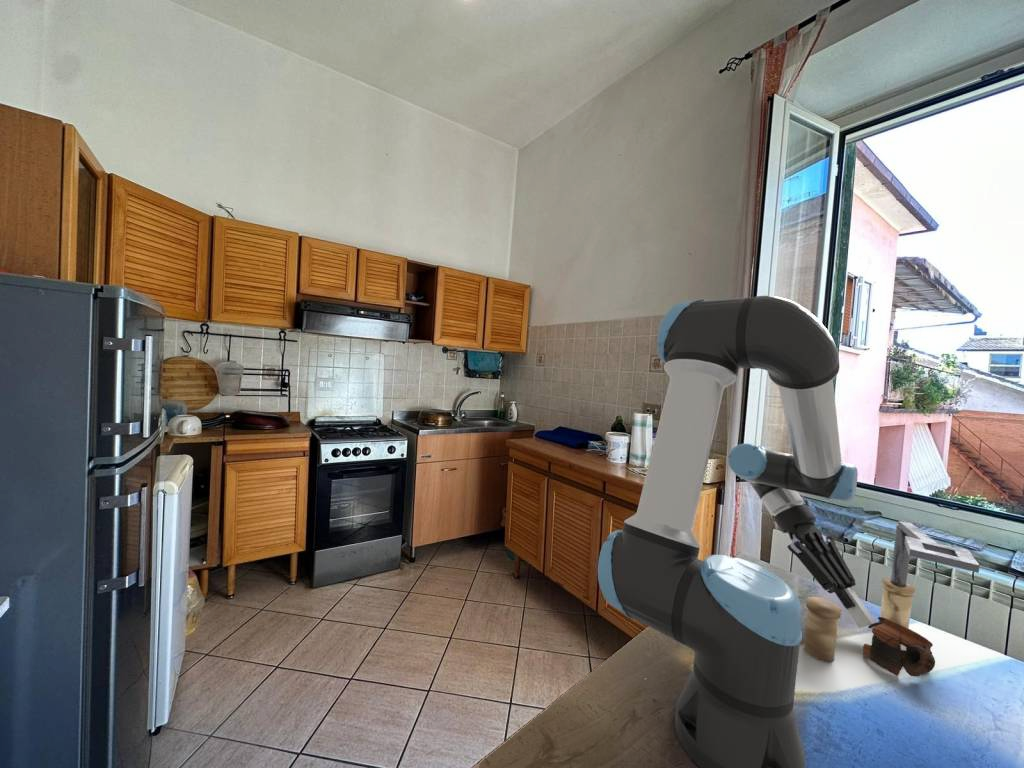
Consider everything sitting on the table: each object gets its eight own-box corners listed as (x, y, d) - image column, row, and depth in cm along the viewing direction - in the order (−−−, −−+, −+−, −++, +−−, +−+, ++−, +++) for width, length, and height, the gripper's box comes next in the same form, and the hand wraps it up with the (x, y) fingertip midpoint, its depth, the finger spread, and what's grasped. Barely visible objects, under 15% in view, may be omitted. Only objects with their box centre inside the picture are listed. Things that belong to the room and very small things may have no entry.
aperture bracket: (882, 671, 73) (896, 545, 72) (877, 617, 90) (887, 515, 89) (963, 701, 67) (979, 565, 66) (941, 638, 84) (953, 529, 83)
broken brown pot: (844, 646, 80) (861, 606, 81) (893, 677, 78) (909, 635, 80) (899, 675, 68) (917, 628, 69) (957, 712, 67) (975, 663, 68)
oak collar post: (800, 653, 76) (805, 604, 76) (803, 640, 80) (808, 593, 80) (835, 667, 73) (840, 615, 73) (836, 653, 77) (841, 604, 77)
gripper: (793, 515, 100) (868, 624, 86) (757, 520, 95) (830, 637, 81) (819, 500, 95) (904, 613, 81) (783, 504, 90) (866, 626, 76)
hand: (867, 625), depth 81 cm, fingers closed
